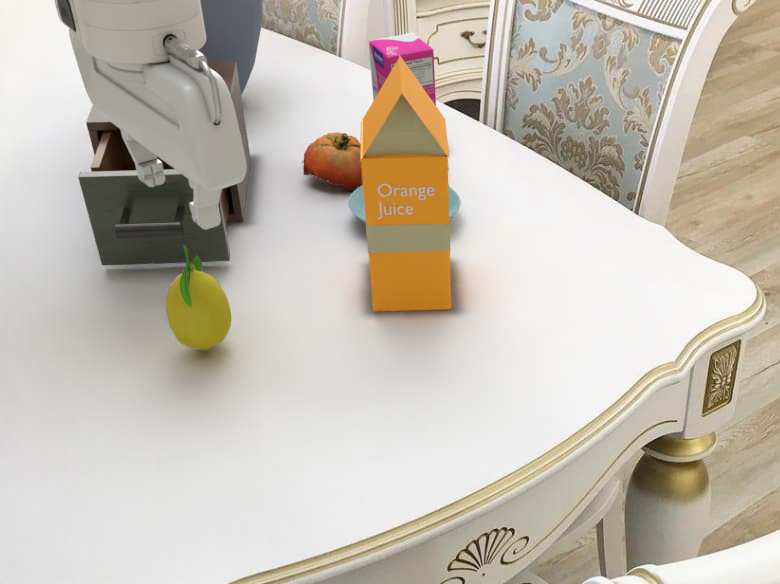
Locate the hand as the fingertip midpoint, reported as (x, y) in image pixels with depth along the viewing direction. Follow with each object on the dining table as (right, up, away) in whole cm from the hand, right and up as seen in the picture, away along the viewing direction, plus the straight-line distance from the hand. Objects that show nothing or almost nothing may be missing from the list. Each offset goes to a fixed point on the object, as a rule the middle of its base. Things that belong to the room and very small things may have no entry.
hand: (179, 203), depth 91 cm
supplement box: (+15, +23, +41) cm, 49 cm away
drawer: (-8, +5, +22) cm, 24 cm away
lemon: (0, -10, +10) cm, 14 cm away
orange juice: (+17, -1, +18) cm, 25 cm away
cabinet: (-9, +14, +32) cm, 36 cm away
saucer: (+16, +9, +28) cm, 33 cm away
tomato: (+8, +16, +35) cm, 39 cm away
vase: (-12, +31, +48) cm, 59 cm away
